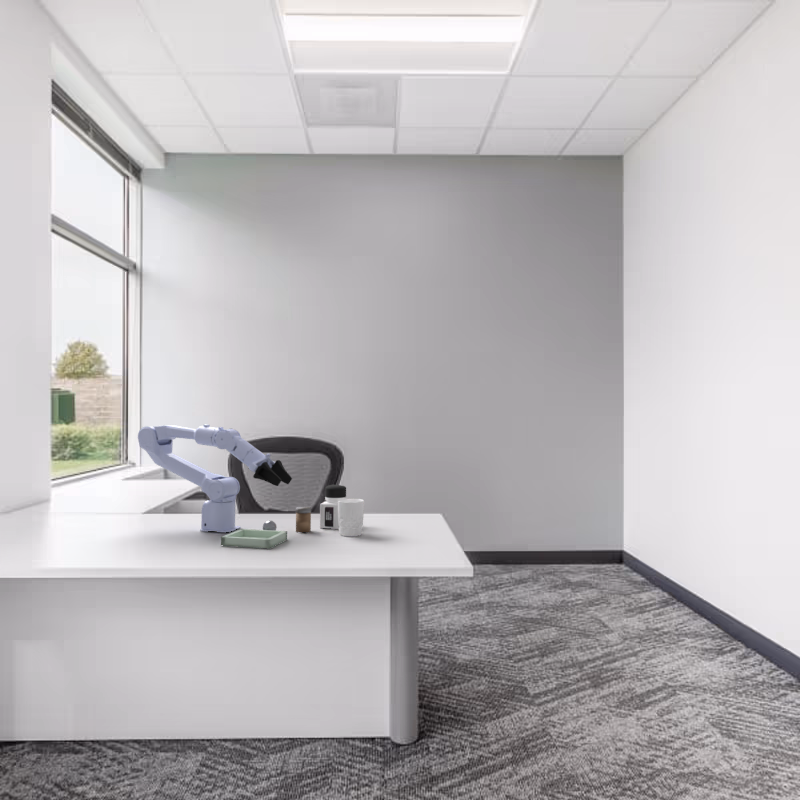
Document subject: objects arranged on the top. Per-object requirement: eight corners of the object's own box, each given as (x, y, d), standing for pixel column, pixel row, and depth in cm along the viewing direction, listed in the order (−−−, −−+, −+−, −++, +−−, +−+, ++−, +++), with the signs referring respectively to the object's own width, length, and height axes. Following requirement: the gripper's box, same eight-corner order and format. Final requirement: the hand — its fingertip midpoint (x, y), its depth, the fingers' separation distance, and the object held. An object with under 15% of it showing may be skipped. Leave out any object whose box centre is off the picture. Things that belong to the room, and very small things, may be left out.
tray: (220, 546, 171) (220, 537, 171) (241, 537, 182) (241, 528, 182) (269, 548, 168) (269, 539, 168) (287, 539, 179) (287, 531, 179)
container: (343, 529, 195) (344, 487, 195) (319, 528, 196) (320, 486, 197) (350, 525, 202) (351, 484, 203) (327, 524, 204) (327, 483, 204)
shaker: (293, 532, 190) (293, 508, 190) (298, 529, 194) (299, 506, 194) (307, 533, 189) (308, 509, 189) (313, 530, 193) (313, 507, 193)
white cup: (331, 534, 188) (332, 500, 188) (351, 530, 194) (351, 497, 194) (349, 538, 182) (350, 503, 182) (369, 534, 188) (369, 500, 188)
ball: (260, 535, 185) (260, 521, 186) (266, 532, 189) (266, 519, 189) (273, 535, 185) (273, 522, 185) (278, 533, 189) (278, 519, 189)
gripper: (245, 445, 183) (281, 472, 180) (267, 444, 197) (301, 469, 194) (232, 465, 184) (268, 492, 180) (255, 463, 198) (289, 488, 195)
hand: (284, 482), depth 187 cm, fingers open, 7 cm apart
